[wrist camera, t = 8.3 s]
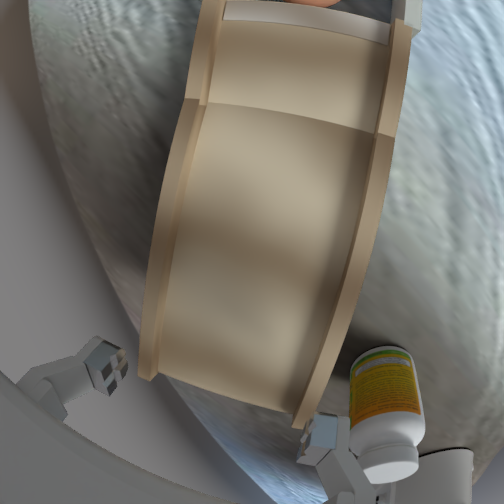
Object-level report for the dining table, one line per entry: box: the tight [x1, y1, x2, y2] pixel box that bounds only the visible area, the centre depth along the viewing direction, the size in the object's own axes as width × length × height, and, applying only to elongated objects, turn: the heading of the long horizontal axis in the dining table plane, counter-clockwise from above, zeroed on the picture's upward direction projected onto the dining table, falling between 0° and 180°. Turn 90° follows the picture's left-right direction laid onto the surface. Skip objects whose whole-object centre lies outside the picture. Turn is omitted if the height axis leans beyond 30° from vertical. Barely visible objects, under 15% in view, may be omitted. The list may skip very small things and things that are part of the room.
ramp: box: [138, 0, 412, 430], centre depth 13 cm, size 20×10×8 cm, turn 171°
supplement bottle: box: [349, 346, 425, 484], centre depth 16 cm, size 5×5×10 cm
